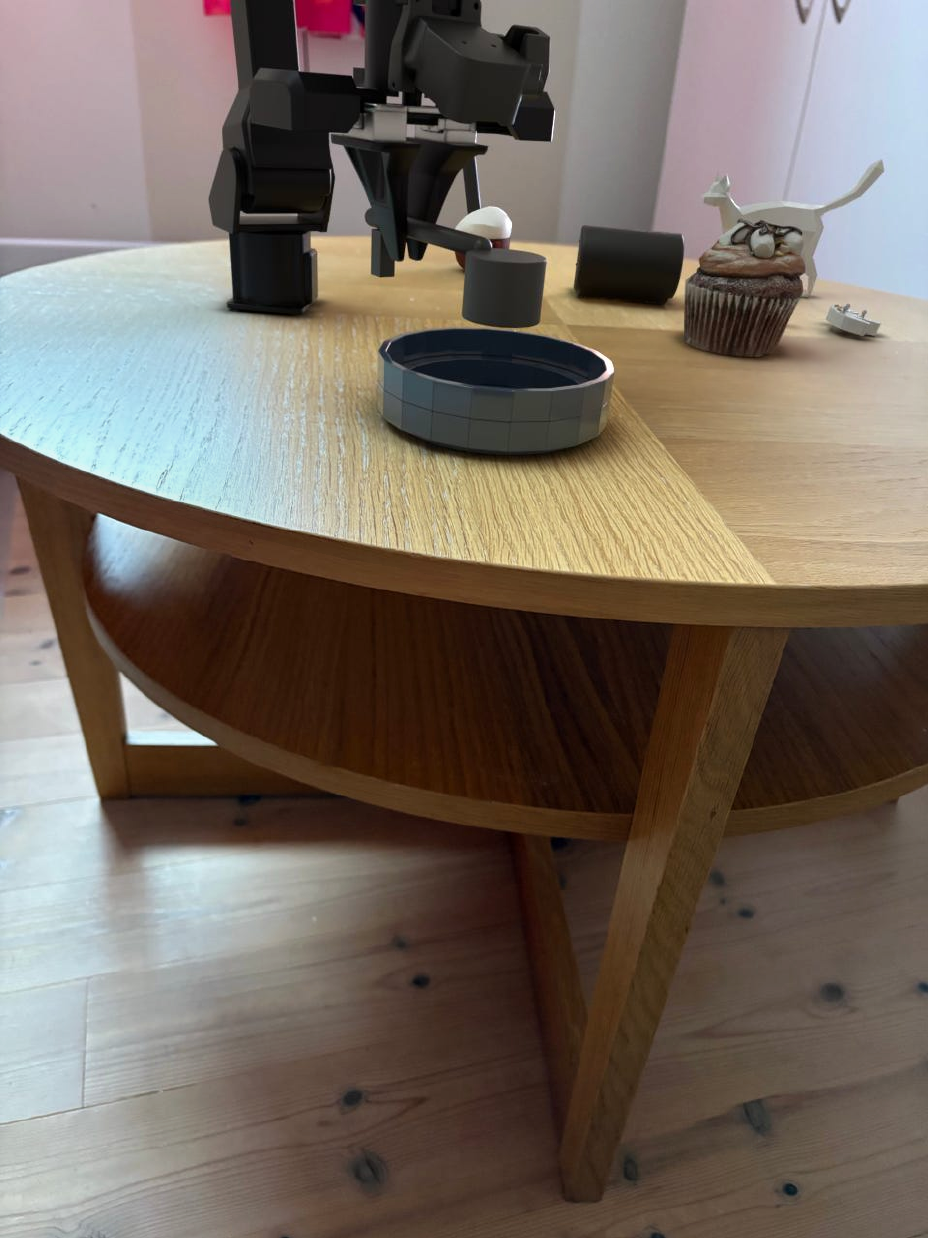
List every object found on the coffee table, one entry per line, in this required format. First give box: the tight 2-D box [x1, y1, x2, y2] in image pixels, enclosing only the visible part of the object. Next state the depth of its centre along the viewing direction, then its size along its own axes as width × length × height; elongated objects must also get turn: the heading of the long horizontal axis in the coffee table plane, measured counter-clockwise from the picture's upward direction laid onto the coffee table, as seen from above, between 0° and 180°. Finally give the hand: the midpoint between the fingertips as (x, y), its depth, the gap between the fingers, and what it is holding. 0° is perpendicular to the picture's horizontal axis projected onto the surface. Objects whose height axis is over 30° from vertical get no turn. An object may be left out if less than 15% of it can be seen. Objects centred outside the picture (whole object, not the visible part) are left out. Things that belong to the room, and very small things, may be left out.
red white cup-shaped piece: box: [454, 156, 513, 271], centre depth 97 cm, size 10×6×12 cm, turn 1°
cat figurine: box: [700, 158, 885, 298], centre depth 97 cm, size 4×20×14 cm, turn 99°
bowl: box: [376, 326, 616, 456], centre depth 54 cm, size 14×14×4 cm
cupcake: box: [683, 219, 806, 358], centre depth 75 cm, size 10×10×10 cm
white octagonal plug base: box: [790, 303, 882, 337], centre depth 84 cm, size 6×12×3 cm, turn 100°
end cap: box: [573, 224, 685, 305], centre depth 89 cm, size 10×7×7 cm
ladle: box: [364, 207, 548, 329], centre depth 55 cm, size 17×5×4 cm, turn 37°
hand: (406, 260), depth 58 cm, fingers closed on ladle
